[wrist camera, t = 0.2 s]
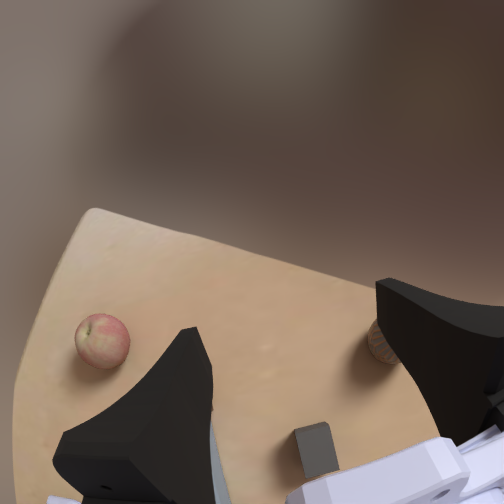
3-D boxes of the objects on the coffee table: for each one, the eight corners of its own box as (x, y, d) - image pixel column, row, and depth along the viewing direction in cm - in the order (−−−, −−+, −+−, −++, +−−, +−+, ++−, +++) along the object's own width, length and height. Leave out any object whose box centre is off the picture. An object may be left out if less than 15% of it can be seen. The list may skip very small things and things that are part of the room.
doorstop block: (333, 461, 34) (339, 469, 29) (304, 469, 34) (305, 478, 29) (324, 421, 36) (329, 425, 32) (294, 429, 36) (295, 433, 32)
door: (231, 505, 32) (224, 518, 27) (215, 507, 32) (207, 519, 27) (209, 413, 38) (199, 415, 33) (193, 415, 38) (181, 418, 33)
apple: (130, 314, 45) (103, 298, 38) (146, 359, 42) (120, 351, 35) (90, 334, 45) (60, 321, 37) (104, 378, 41) (73, 373, 34)
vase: (361, 365, 39) (378, 358, 31) (364, 316, 42) (380, 297, 34) (408, 366, 38) (434, 359, 30) (409, 318, 40) (434, 300, 33)
